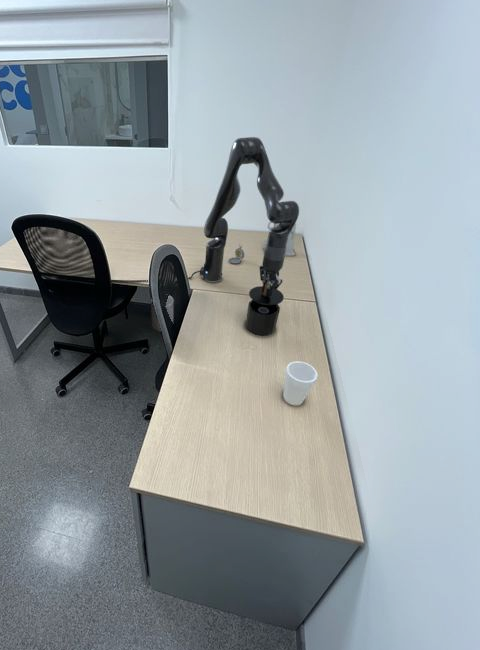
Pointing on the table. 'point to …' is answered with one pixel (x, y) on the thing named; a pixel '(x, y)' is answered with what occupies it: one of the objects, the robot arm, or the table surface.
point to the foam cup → (298, 382)
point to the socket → (263, 310)
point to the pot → (261, 319)
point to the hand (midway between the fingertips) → (266, 293)
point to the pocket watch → (237, 252)
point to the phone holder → (290, 240)
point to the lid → (261, 297)
